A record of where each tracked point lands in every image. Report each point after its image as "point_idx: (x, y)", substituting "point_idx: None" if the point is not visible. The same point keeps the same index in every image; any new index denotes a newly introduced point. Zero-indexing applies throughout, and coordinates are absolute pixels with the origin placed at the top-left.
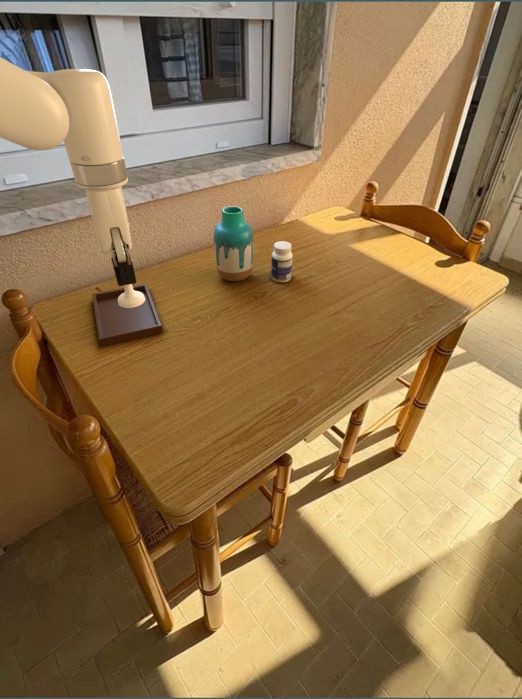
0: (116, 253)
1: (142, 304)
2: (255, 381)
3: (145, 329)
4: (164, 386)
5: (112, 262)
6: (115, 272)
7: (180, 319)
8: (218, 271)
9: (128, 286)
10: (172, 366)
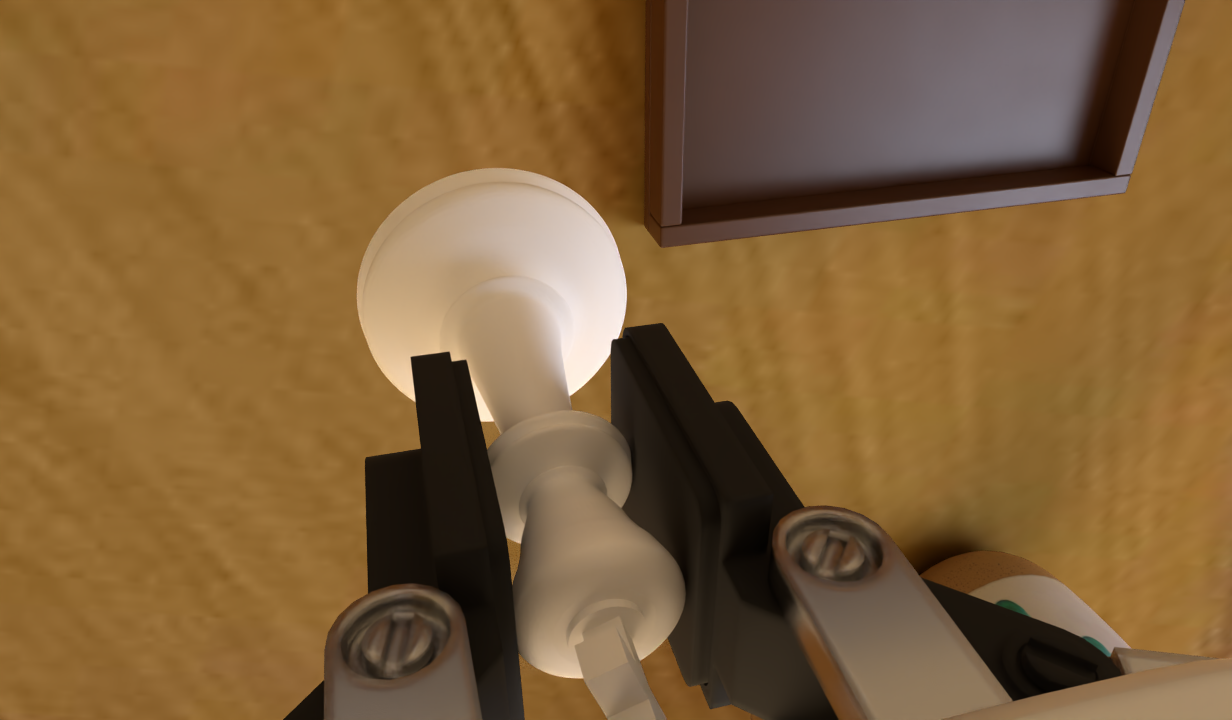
0: (762, 625)
1: (960, 136)
2: (107, 608)
3: (661, 146)
4: (122, 187)
5: (699, 459)
6: (429, 479)
7: (728, 328)
8: (982, 571)
9: (485, 401)
10: (309, 249)
